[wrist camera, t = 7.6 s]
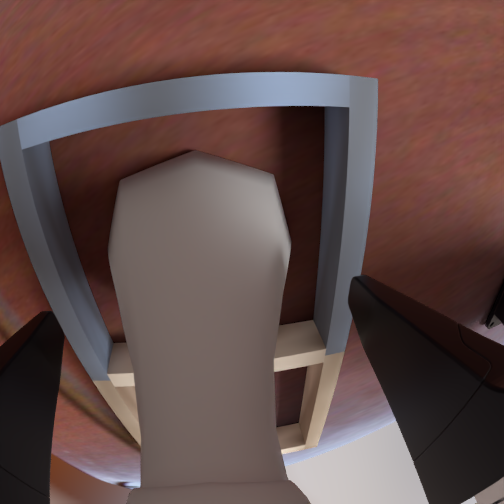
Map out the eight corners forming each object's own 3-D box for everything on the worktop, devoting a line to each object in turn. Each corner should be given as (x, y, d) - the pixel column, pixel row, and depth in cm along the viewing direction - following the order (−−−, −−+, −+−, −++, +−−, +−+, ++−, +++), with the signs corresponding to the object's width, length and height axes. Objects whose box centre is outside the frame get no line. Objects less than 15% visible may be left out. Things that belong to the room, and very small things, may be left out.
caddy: (349, 78, 9) (377, 78, 8) (310, 425, 21) (316, 446, 19) (23, 119, 8) (-6, 128, 6) (158, 444, 20) (158, 466, 18)
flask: (281, 308, 14) (356, 520, 6) (125, 315, 13) (97, 539, 5) (297, 148, 11) (538, 362, 2) (96, 156, 10) (-110, 395, 1)
